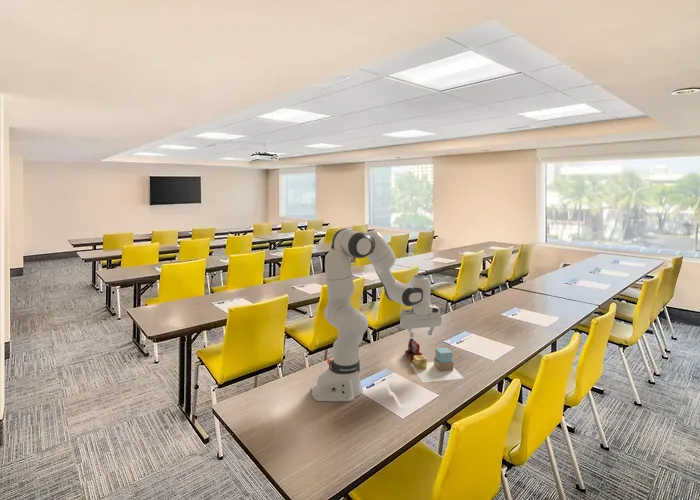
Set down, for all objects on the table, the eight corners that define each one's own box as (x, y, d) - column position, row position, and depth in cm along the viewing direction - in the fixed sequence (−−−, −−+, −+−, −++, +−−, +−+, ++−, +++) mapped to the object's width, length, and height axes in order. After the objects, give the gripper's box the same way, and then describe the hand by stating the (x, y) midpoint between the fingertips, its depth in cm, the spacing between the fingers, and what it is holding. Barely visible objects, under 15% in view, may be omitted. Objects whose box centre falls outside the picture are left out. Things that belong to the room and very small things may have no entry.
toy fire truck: (415, 353, 210) (415, 335, 208) (424, 363, 198) (425, 344, 196) (403, 354, 208) (403, 336, 207) (411, 364, 196) (412, 345, 195)
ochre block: (416, 369, 188) (416, 360, 187) (413, 365, 193) (413, 355, 192) (426, 368, 189) (426, 359, 188) (422, 364, 194) (423, 354, 193)
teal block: (440, 363, 186) (440, 353, 185) (435, 357, 192) (435, 348, 191) (452, 362, 187) (452, 352, 186) (446, 356, 193) (447, 347, 192)
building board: (422, 384, 176) (423, 374, 175) (409, 366, 194) (409, 356, 194) (464, 380, 179) (464, 370, 178) (447, 362, 198) (447, 353, 197)
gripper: (402, 312, 182) (402, 340, 184) (443, 308, 185) (442, 336, 187) (398, 308, 188) (398, 335, 190) (438, 305, 191) (437, 331, 193)
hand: (420, 335), depth 189 cm, fingers open, 8 cm apart
